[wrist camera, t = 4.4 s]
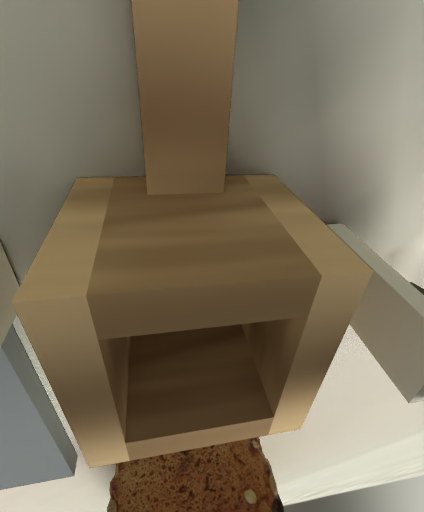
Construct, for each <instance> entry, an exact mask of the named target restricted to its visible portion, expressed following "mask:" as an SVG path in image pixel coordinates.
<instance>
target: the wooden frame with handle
mask: <svg viewBox="0 0 424 512" xmlns="http://www.w3.org/2000/svg"><path fill="white" fill-rule="evenodd" d="M131 2H132V14H133V26H134V38H135V51H136V63H137V75H138V87H139V99H140V112H141V124H142V136H143V148H144V160H145V172H146V177H96V178H77V179H76V181H75V183H74V185H73V186H72V188H71V190H70V192H69V194H68V196H67V198H66V200H65V202H64V204H63V205H62V207H61V209H60V211H59V213H58V215H57V217H56V219H55V221H54V223H53V224H52V226H51V228H50V230H49V232H48V234H47V236H46V238H45V240H44V242H43V243H42V245H41V247H40V249H39V251H38V253H37V255H36V257H35V259H34V261H33V262H32V264H31V266H30V268H29V270H28V272H27V274H26V276H25V278H24V280H23V281H22V283H21V285H20V287H19V289H18V291H17V293H16V295H15V297H14V299H13V300H12V304H13V306H14V309H15V311H16V313H17V315H18V317H19V319H20V321H21V323H22V326H23V328H24V330H25V332H26V334H27V336H28V338H29V340H30V343H31V345H32V347H33V349H34V351H35V353H36V355H37V357H38V360H39V362H40V364H41V366H42V368H43V370H44V372H45V375H46V377H47V379H48V381H49V383H50V385H51V387H52V389H53V392H54V394H55V396H56V398H57V400H58V402H59V404H60V406H61V409H62V411H63V413H64V415H65V417H66V419H67V421H68V423H69V426H70V428H71V430H72V432H73V434H74V436H75V438H76V440H77V443H78V445H79V447H80V449H81V451H82V453H83V455H84V457H85V460H86V462H87V464H88V466H89V468H93V467H99V466H104V465H109V464H115V463H120V462H126V461H131V460H136V459H142V458H147V457H152V456H158V455H163V454H169V453H174V452H179V451H185V450H190V449H196V448H201V447H206V446H212V445H217V444H222V443H228V442H233V441H239V440H244V439H249V438H255V437H260V436H265V435H271V434H276V433H282V432H287V431H292V430H298V429H301V427H302V425H303V422H304V420H305V418H306V416H307V414H308V412H309V409H310V407H311V405H312V403H313V401H314V399H315V396H316V394H317V392H318V390H319V388H320V386H321V384H322V381H323V379H324V377H325V375H326V373H327V371H328V368H329V366H330V364H331V362H332V360H333V358H334V355H335V353H336V351H337V349H338V347H339V345H340V342H341V340H342V338H343V336H344V334H345V332H346V329H347V327H348V325H349V323H350V321H351V319H352V316H353V314H354V312H355V310H356V308H357V306H358V304H359V301H360V299H361V297H362V295H363V293H364V291H365V288H366V286H367V284H368V282H369V280H370V278H371V275H372V273H373V271H372V270H371V269H370V268H369V267H368V266H367V265H366V264H365V263H364V262H363V261H362V260H361V259H360V258H359V257H358V256H357V255H356V254H355V253H354V252H353V251H352V250H351V249H350V248H349V247H348V246H347V245H346V244H345V243H344V242H343V241H342V240H341V239H340V238H339V237H337V236H336V235H335V234H334V233H333V232H332V231H331V230H330V229H329V228H328V227H327V226H326V225H325V224H324V223H323V222H322V221H321V220H320V219H319V218H318V217H317V216H316V215H315V214H314V213H313V212H312V211H311V210H310V209H309V208H308V207H307V206H306V205H305V204H304V203H303V202H302V201H300V200H299V199H298V198H297V197H296V196H295V195H294V194H293V193H292V192H291V191H290V190H289V189H288V188H287V187H286V186H285V185H284V184H283V183H282V182H281V181H280V180H279V179H278V178H277V177H276V176H275V175H225V171H226V158H227V145H228V132H229V119H230V106H231V93H232V80H233V67H234V54H235V41H236V28H237V15H238V2H239V0H131Z"/></svg>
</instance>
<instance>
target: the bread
mask: <svg viewBox="0 0 424 512" xmlns="http://www.w3.org/2000/svg"><path fill="white" fill-rule="evenodd" d="M110 495H111V499H110V502H109V504H108V507H107V512H284V508H283V504H282V502H281V499H280V497H279V494H278V491H277V486H276V483H275V479H274V476H273V473H272V469H271V465H270V463H269V461H268V459H266V458H265V456H264V454H263V452H262V447H261V445H260V439H259V438H258V437H255V438H249V439H244V440H239V441H233V442H228V443H222V444H217V445H212V446H206V447H201V448H196V449H190V450H185V451H179V452H174V453H169V454H163V455H158V456H152V457H147V458H142V459H136V460H131V461H126V462H120V463H116V472H115V476H114V478H113V479H112V480H111V482H110Z"/></svg>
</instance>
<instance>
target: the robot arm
mask: <svg viewBox="0 0 424 512" xmlns="http://www.w3.org/2000/svg"><path fill="white" fill-rule="evenodd" d="M326 226H327V227H328V228H329V229H330V230H331V231H332V232H333V233H334V234H335V235H336V236H337V237H339V238H340V239H341V240H342V241H343V242H344V243H345V244H346V245H347V246H348V247H349V248H350V249H351V250H352V251H353V252H354V253H355V254H356V255H357V256H358V257H359V258H360V259H361V260H362V261H363V262H364V263H365V264H366V265H367V266H368V267H369V268H370V269H371V270H372V271H373V273H372V275H371V278H370V280H369V282H368V284H367V286H366V288H365V291H364V293H363V295H362V297H361V299H360V301H359V304H358V306H357V308H356V310H355V312H354V314H353V316H352V319H351V321H350V323H349V324H350V325H351V327H352V328H353V329H354V331H355V332H356V333H357V335H358V336H359V337H360V339H361V340H362V341H363V343H364V344H365V345H366V347H367V348H368V349H369V351H370V352H371V353H372V355H373V356H374V357H375V359H376V360H377V362H378V363H379V364H380V366H381V367H382V368H383V370H384V371H385V372H386V374H387V375H388V376H389V378H390V379H391V380H392V382H393V383H394V384H395V386H396V387H397V388H398V390H399V391H400V392H401V394H402V395H403V396H404V398H405V399H406V400H407V402H408V403H414V402H419V401H424V289H423V288H421V287H419V286H417V285H416V284H414V283H412V282H408V281H407V280H406V279H405V278H404V277H402V276H401V275H400V274H399V273H398V272H397V271H396V270H395V269H393V268H392V267H391V266H390V265H389V264H388V263H387V262H385V261H384V260H383V259H382V258H381V257H380V256H379V255H377V254H376V253H375V252H374V251H373V250H372V249H371V248H370V247H368V246H367V245H366V244H365V243H364V242H363V241H362V240H360V239H359V238H358V237H357V236H356V235H355V234H354V233H352V232H351V231H350V230H349V229H348V228H347V227H346V226H344V225H343V224H327V225H326ZM18 289H19V284H18V282H17V280H16V277H15V275H14V273H13V270H12V268H11V266H10V263H9V261H8V259H7V256H6V254H5V252H4V249H3V247H2V245H1V243H0V348H1V346H2V343H3V341H4V339H5V337H6V335H7V333H8V331H9V329H10V327H11V325H12V323H13V321H14V318H15V316H16V314H17V313H16V311H15V309H14V306H13V304H12V300H13V299H14V297H15V295H16V293H17V291H18Z"/></svg>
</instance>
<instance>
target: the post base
mask: <svg viewBox="0 0 424 512" xmlns="http://www.w3.org/2000/svg"><path fill="white" fill-rule="evenodd" d="M76 462H77V454H76V452H75V450H74V448H73V446H72V444H71V442H70V440H69V438H68V436H67V434H66V432H65V430H64V428H63V426H62V424H61V422H60V420H59V418H58V416H57V414H56V412H55V410H54V408H53V406H52V404H51V402H50V400H49V398H48V396H47V394H46V392H45V390H44V388H43V386H42V384H41V382H40V380H39V378H38V376H37V374H36V372H35V370H34V368H33V366H32V364H31V362H30V360H29V358H28V356H27V354H26V352H25V350H24V348H23V346H22V344H21V342H20V340H19V338H18V336H17V334H16V332H15V330H14V328H13V326H12V325H11V327H10V329H9V331H8V333H7V335H6V337H5V339H4V341H3V343H2V346H1V348H0V490H2V489H8V488H13V487H18V486H24V485H29V484H34V483H40V482H45V481H50V480H55V479H61V478H66V477H71V476H74V474H75V468H76Z"/></svg>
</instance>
